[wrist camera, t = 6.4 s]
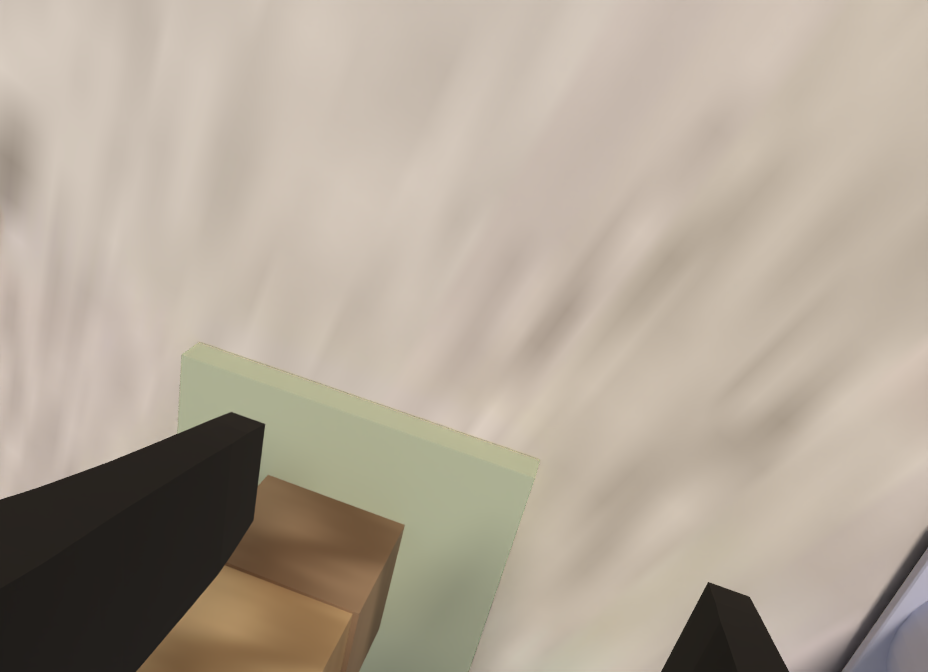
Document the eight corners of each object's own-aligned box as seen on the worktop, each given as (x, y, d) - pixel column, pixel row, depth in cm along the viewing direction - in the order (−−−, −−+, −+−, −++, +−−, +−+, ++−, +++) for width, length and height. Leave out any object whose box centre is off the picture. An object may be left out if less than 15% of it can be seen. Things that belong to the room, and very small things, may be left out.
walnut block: (405, 524, 24) (359, 613, 20) (379, 628, 26) (333, 725, 22) (267, 474, 24) (199, 552, 21) (254, 580, 26) (190, 666, 23)
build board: (540, 460, 22) (535, 478, 22) (457, 703, 28) (449, 725, 27) (199, 342, 24) (181, 354, 23) (182, 594, 29) (167, 612, 28)
